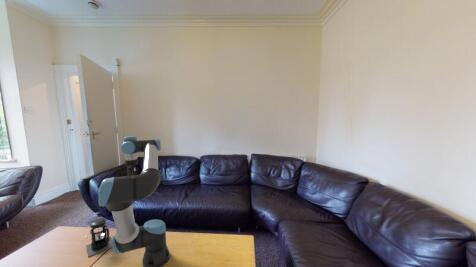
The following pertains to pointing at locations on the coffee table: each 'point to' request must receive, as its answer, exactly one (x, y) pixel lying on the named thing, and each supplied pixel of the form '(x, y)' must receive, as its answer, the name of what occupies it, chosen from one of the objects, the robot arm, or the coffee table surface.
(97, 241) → the black lantern
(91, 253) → the plate
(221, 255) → the coffee table surface
